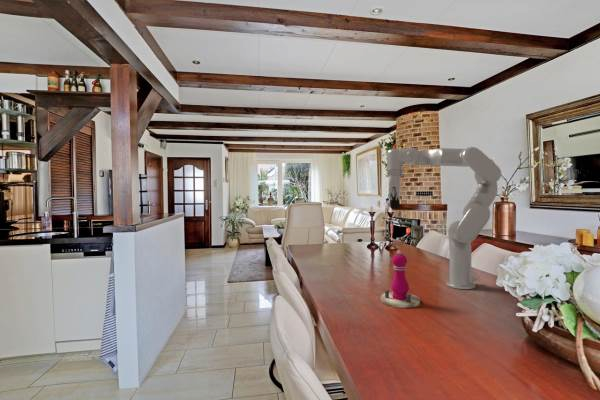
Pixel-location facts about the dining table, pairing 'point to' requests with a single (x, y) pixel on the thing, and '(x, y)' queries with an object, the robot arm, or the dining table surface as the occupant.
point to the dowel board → (390, 301)
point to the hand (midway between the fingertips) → (395, 207)
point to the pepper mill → (399, 277)
